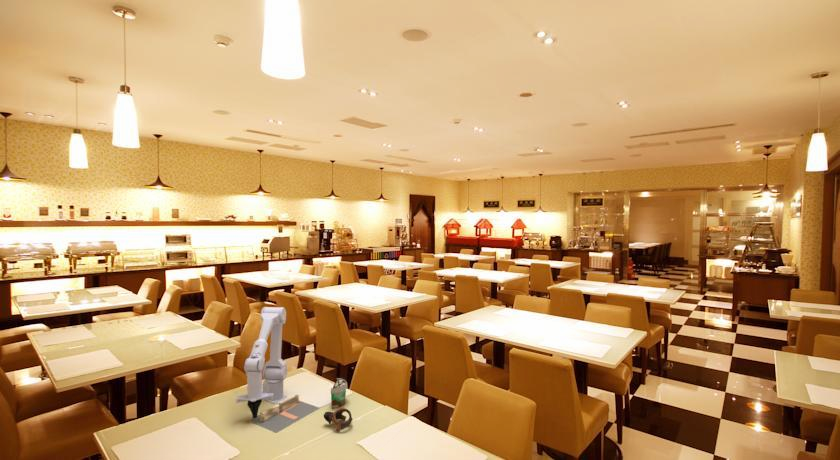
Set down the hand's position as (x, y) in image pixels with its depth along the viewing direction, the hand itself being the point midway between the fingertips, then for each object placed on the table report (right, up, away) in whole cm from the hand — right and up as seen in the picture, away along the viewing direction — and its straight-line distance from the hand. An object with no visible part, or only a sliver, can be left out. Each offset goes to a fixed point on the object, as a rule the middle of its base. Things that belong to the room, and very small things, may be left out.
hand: (255, 417), depth 170 cm
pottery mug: (+36, -2, -4) cm, 36 cm away
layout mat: (+11, -1, +5) cm, 12 cm away
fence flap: (+6, -1, +2) cm, 6 cm away
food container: (+33, -1, +15) cm, 37 cm away
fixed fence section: (+11, -1, +11) cm, 15 cm away
